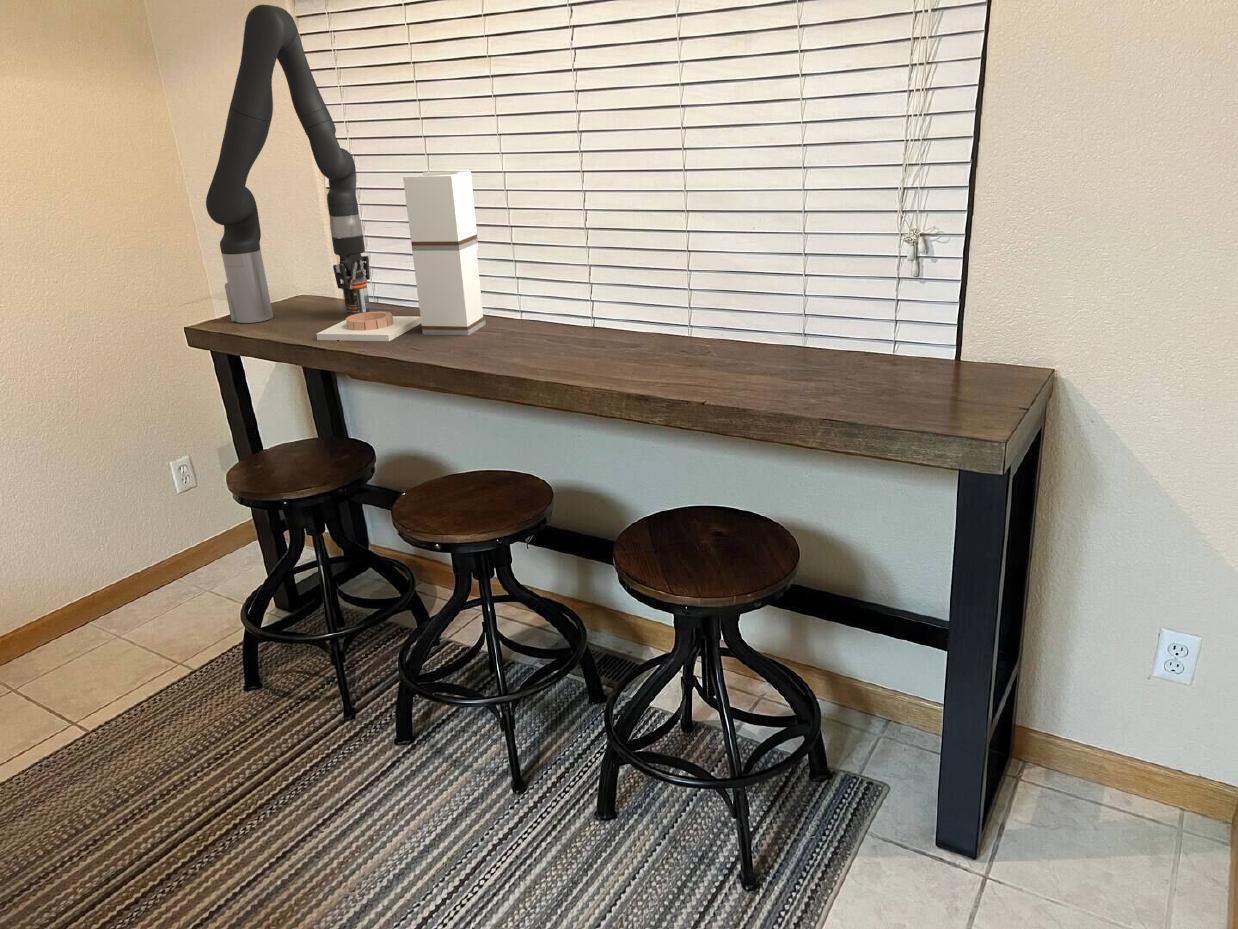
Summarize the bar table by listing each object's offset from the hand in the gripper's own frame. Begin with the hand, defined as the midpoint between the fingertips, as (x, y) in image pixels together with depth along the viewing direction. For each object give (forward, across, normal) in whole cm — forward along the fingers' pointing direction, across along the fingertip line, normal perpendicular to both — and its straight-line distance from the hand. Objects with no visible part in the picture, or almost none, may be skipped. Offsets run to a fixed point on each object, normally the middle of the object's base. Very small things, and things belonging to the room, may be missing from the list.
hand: (356, 301), depth 232 cm
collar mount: (+4, +15, +11) cm, 19 cm away
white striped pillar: (+4, +12, +31) cm, 34 cm away
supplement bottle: (+4, 0, 0) cm, 4 cm away
